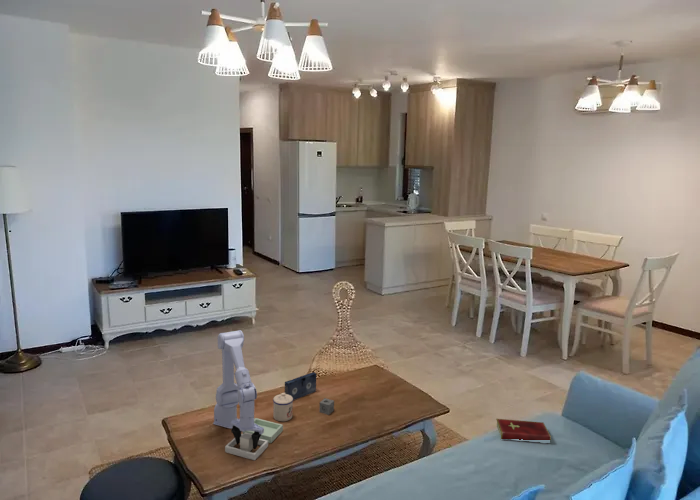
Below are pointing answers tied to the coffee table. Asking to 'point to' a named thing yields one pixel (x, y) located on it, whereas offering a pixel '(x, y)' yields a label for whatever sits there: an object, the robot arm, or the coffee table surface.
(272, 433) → the green bin
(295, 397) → the vhs cassette tape
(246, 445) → the cream block
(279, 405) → the teacup with lid
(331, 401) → the dice cube
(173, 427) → the coffee table surface
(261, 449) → the bin
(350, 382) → the coffee table surface
